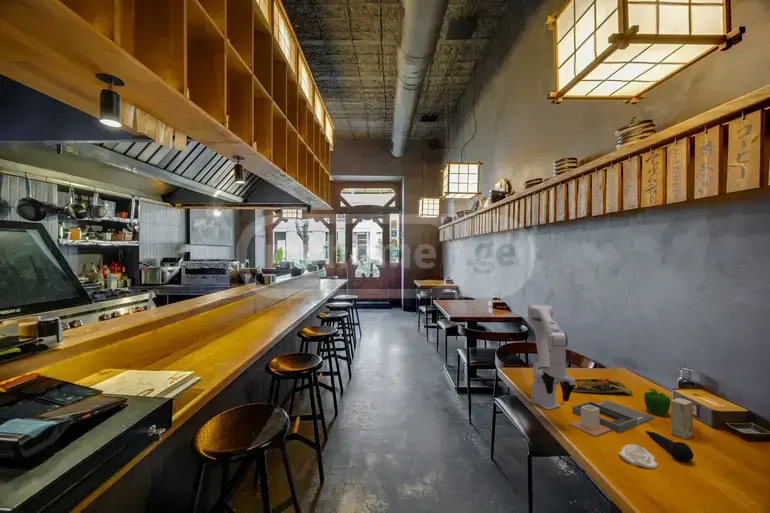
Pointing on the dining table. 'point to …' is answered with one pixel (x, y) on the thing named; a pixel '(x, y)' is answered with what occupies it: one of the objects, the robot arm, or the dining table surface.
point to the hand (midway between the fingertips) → (557, 397)
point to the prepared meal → (599, 386)
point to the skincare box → (682, 418)
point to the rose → (638, 456)
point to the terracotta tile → (594, 432)
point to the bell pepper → (657, 402)
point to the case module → (590, 417)
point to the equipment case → (616, 415)
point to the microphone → (674, 447)
